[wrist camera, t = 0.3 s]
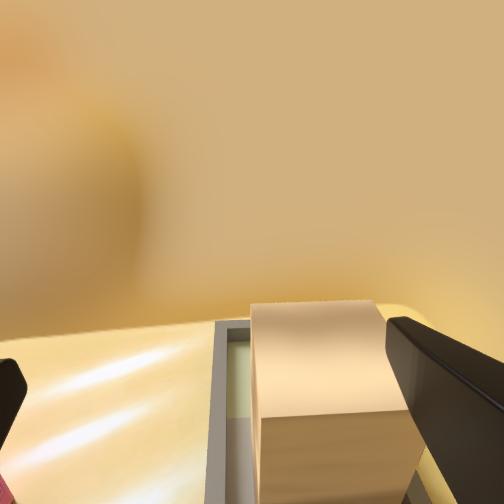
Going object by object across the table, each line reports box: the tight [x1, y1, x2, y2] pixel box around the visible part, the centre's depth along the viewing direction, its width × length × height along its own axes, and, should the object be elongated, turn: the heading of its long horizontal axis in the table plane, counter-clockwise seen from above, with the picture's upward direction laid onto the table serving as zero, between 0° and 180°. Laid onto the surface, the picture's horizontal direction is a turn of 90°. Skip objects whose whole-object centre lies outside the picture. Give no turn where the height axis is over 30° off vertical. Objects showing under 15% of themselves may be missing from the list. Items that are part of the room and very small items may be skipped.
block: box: [251, 300, 426, 504], centre depth 16 cm, size 6×6×10 cm
